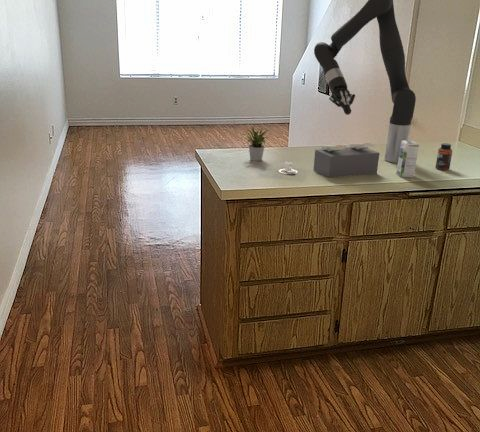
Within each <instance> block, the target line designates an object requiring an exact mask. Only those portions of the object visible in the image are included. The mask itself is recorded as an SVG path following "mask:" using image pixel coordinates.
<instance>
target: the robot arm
mask: <svg viewBox="0 0 480 432" xmlns="http://www.w3.org/2000/svg"><path fill="white" fill-rule="evenodd" d="M394 6H395V5H394V0H367V1H366V3H365V4H364V5H363V6H362V8H360V9H359V11H358V12H357V13H355V15H353V16H352V17H351V18H349V19H348V20H347V21H346V22H344V24H342V26H340V27H339V28H337V30H336V31H335V32H333V33H332V35H331V37H330V40H331V43H330V44H328V43H327V42H324V41H320V42H318V43H316V44H315V46H314V49H313V54H314V57H315V59H316V60H317V62H318V63H319V65H320V66H321V68H322V71H323V73H324V76H325V79H326V83H327V85H328V88H329V91H330V93H331V95H330V96H329V98H328V100H330V101H331V102H332V103H333V104H335V106H337V107H339V108H342V110H343V112H344V115H345V116H346V115H350V114H352V109H351V105H353V102H354V100H355V98H356V94H354V93H353V94H352V93H351V92H350V90H348V84H347V81H346V79H345V77H344V74H343V72H342V70H341V68H340V65H339V63H338V61H337V60H336V59H335V58H336V57H337V56H338V54H339V53H340V51H341V50H342V48H343V47H344V46H345V45H347V44H348V43H349V42H350V41H351V40H352V39H353V38H354V37H355V36H356V35H357V34H358V33H359V32H360V31H361V30H362V29H363V28H364V27H365V26H366V25H368V24H369V23H370V22H371V21H373V20H374V19H377V21H376V22H377V24H378V32H379V35H378V36H379V48H380V53H381V57H382V62H383V64H384V68H385V72H386V74H387V78H388V80H389V87H390V95H391V102H392V104H393V107H392V114H391V116H390V117H389V122H388V123H389V125H388V130H387V131H388V132H387V137H386V144H385V153H384V160H385V161H386V162H390V163H395V164H398V160H399V154H400V148H401V142H402V141H404V140H409V136H410V129H411V124H412V120H413V118H414V112H415V107H416V100H417V97H416V94H415V92H414V91H413V90H412V89H411V88H410V86H409V82H408V80H407V76H406V55H405V50H404V47H403V42H402V39H401V34H400V31H399V28H398V24H397V22H396V21H397V20H396V14H395V7H394Z"/></svg>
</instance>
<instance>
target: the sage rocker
mask: <svg viewBox="0 0 480 432" xmlns="http://www.w3.org/2000/svg"><path fill="white" fill-rule="evenodd" d="M321 149H327V151H339V150H340V149H346V145H341V144H340V145H335V144H330V145H328V144H327V145H321Z"/></svg>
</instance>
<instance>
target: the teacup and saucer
mask: <svg viewBox="0 0 480 432" xmlns="http://www.w3.org/2000/svg"><path fill="white" fill-rule="evenodd" d="M281 171H282V172H281ZM283 171H285V172H283ZM278 172H279V173H280V174H285V175H295V174H298V170H296V169H293V163H292V162H290V161H285V162H284V168H281V169H279V170H278Z"/></svg>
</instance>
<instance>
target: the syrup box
mask: <svg viewBox="0 0 480 432" xmlns="http://www.w3.org/2000/svg"><path fill="white" fill-rule="evenodd" d="M419 147H420V144H419V143H418V142H416V141H415V140H409V139H408V140H404V141H402V142H401V148H400V154H399V160H398V163H397V166H396V167H397V168H396V175H398V176H399V177H400V178H414V176H415V171H416V167H417V166H416V164H417V160H418V153H419Z"/></svg>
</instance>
